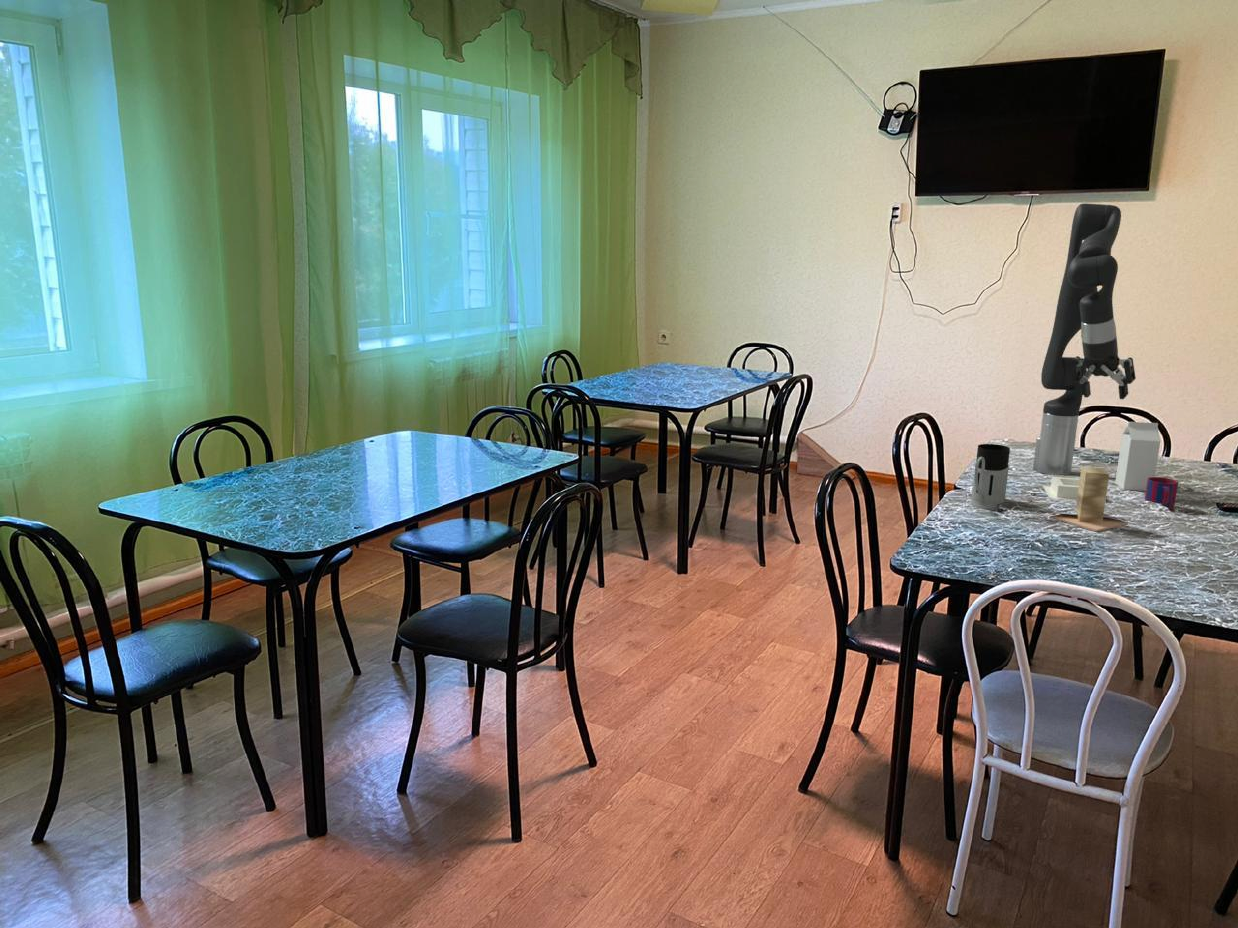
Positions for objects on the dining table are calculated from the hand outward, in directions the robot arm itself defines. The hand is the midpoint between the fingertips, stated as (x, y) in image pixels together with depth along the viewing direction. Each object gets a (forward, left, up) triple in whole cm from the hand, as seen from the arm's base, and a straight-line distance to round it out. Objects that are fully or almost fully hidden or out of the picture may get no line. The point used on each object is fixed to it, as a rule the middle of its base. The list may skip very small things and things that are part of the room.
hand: (1104, 397), depth 232 cm
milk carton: (0, +19, -27) cm, 33 cm away
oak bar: (+11, -16, -27) cm, 33 cm away
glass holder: (-10, -29, -27) cm, 41 cm away
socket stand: (-3, -2, -27) cm, 28 cm away
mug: (+12, +11, -27) cm, 32 cm away
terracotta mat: (+11, -16, -27) cm, 33 cm away
